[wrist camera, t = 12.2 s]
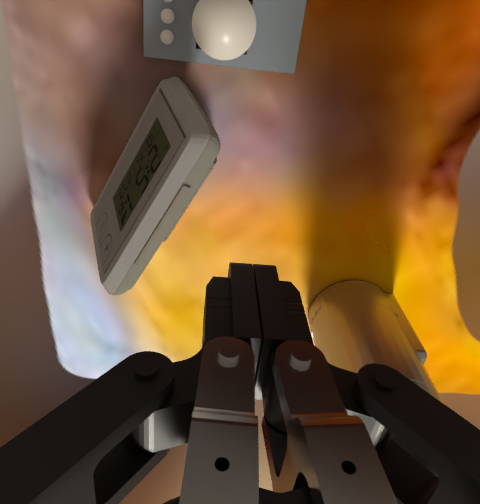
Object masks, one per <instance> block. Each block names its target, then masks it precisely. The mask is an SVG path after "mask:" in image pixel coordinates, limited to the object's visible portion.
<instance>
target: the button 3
mask: <svg viewBox="0 0 480 504" xmlns="http://www.w3.org/2000/svg"><path fill="white" fill-rule="evenodd" d="M192 31H193V35H194V38H195V40H196V42H197V44H198V46H199V47H200V48H201V49H202V51H203V52H205V53H206V54H207V55H209V56H210V57H212V58H215V59H218V60H231V59H235V58H237V57H239V56H241V55H242V54H243V53H245V52H246V51H247V49H248V48H249V47H250V45H251V44H252V42H253V40H254V37H255V33H256V16H255V12H254V9H253V7H252V5H251V3H250V2H249V1H248V0H199V1H198V3H197V5H196V7H195V9H194V12H193V16H192Z"/></svg>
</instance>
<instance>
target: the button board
mask: <svg viewBox="0 0 480 504" xmlns="http://www.w3.org/2000/svg"><path fill="white" fill-rule="evenodd" d="M198 1H199V0H143V30H144V57H151V58H159V59H168V60H177V61H186V62H194V63H203V64H212V65H221V66H229V67H238V68H247V69H256V70H264V71H273V72H282V73H291V74H295V68H296V62H297V56H298V50H299V44H300V38H301V32H302V26H303V20H304V14H305V8H306V2H307V0H251V5H252V7H253V9H254V12H255V16H256V33H255V37H254V40H253V42H252V44H251V45H250V47H249V48H248V49H247V51H246V52H245V53H243V54H242V55H241V56H239V57H237V58H235V59H231V60H218V59H215V58H212V57H210V56H209V55H207V54H206V53H205V52H203V51H202V49H201V48H200V47H197V42H196V40H195V38H194V35H193V31H192V16H193V12H194V9H195V7H196V5H197V3H198Z"/></svg>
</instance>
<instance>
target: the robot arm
mask: <svg viewBox="0 0 480 504" xmlns="http://www.w3.org/2000/svg"><path fill="white" fill-rule="evenodd" d="M304 312H305V311H304V307H303V305H302V300H301V296H300V292H299V291H298V290H297V288H296V287H295V286H294V285H293V284H292V283H291V282H288V281H279V278H278V273H277V269H276V266H274V265H259V264H253V266H252V264H244V263H230V264H229V271H228V278H226V277H213V278H212V279H211V280H210V282H209V283H208V284H207V286H206V296H205V307H204V319H203V339H202V349H201V350H200V351H199V352H198V353H197V354H196V355H194V356H193V357H191V358H189V359H186V360H183V361H178V362H173V363H172V361H171V360H170V359H169V358H168V357H166V356H165V355H163V354H160V353H157V352H151V351H145V352H139V353H135V354H133V355H131V356H129V357H127V358H126V359H124V360H123V361H122V362H120V363H119V364H117V365H116V366H114V367H113V368H112V369H110V370H109V371H107V372H106V373H105V374H103V375H102V376H100V377H99V378H98V379H96V380H95V381H94V382H92V383H91V384H89V385H88V386H86V387H85V388H83V389H82V390H81V391H79V392H78V393H76V394H75V395H74V396H72V397H71V398H69V399H68V400H67V401H65V402H64V403H62V404H61V405H60V406H58V407H57V408H55V409H54V410H52V411H51V412H50V413H48V414H47V415H46V416H44V417H43V418H41V419H40V420H39V421H37V422H36V423H34V424H33V425H31V426H30V427H29V428H27V429H26V430H24V431H23V432H21V433H20V434H19V435H17V436H16V437H14V438H13V439H12V440H10V441H9V442H7V443H6V444H5V445H3V446H2V447H0V504H118V503H120V502H121V500H122V499H123V498H124V497H125V496H126V495H127V494H128V493H129V492H130V491H131V490H132V489H133V488H134V487H135V486H136V485H137V484H138V483H139V482H140V481H141V480H142V479H143V478H144V477H145V476H146V475H147V474H148V473H149V472H150V471H151V470H152V469H153V468H154V467H155V466H156V465H157V464H158V463H159V462H160V461H161V460H162V459H163V458H164V457H165V456H166V455H167V453H168V452H169V449H170V448H171V447H175V446H178V445H181V444H185V443H188V446H187V453H186V460H185V467H184V474H183V480H182V488H181V494H180V496H179V497H176V498H174V499H172V500H169V501H167V502H165V503H163V504H480V430H479V429H478V428H476V427H475V426H474V425H472V424H471V423H469V422H468V421H467V420H465V419H464V418H462V417H461V416H460V415H458V414H457V413H455V412H454V411H453V410H451V409H450V408H448V407H447V406H446V405H444V403H443V401H442V399H441V397H440V396H439V394H438V392H437V390H436V388H435V386H434V384H433V383H432V381H431V379H430V377H429V375H428V373H427V371H426V370H425V368H424V366H423V364H424V362H425V360H426V358H427V353H426V351H425V349H424V347H423V346H422V344H421V342H420V340H419V339H418V337H417V335H416V333H415V332H414V330H413V328H412V326H411V325H410V323H409V321H408V319H407V318H406V316H405V314H404V312H403V311H402V309H401V307H400V305H399V304H398V302H397V300H396V298H395V297H394V295H393V294H391V293H384V292H383V291H382V290H381V289H380V288H378V287H377V286H376V285H374V284H372V283H369V282H366V281H360V280H350V281H343V282H340V283H336V284H334V285H332V286H330V287H328V288H326V289H325V290H323V291H322V292H321V293H320V294H319V295H318V296H317V297H316V298H315V299H314V301H313V302H312V304H311V307H310V309H309V315H308V318H309V324H310V328H311V333H312V336H313V339H314V342H315V346H314V344H313V341H312V337H311V333H310V329H309V326H308V322H307V318H306V315H305V313H304ZM255 399H260V400H263V408H264V409H263V414H262V418H261V426H262V432H263V437H264V442H265V448H266V453H267V459H268V464H269V469H270V475H271V480H272V487H273V491H270V490H266V489H263V488H259V462H258V461H259V456H258V454H259V453H258V417H257V416H255Z"/></svg>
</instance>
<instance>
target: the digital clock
mask: <svg viewBox="0 0 480 504" xmlns="http://www.w3.org/2000/svg"><path fill="white" fill-rule="evenodd" d="M219 150H220V140H219V137H218V135H217V133H216V131H215V129H214V127H213V126H212V124H211V122H210V121H209V119H208V118H207V116H206V115H205V113H204V112H203V110H202V109H201V107H200V105H199V104H198V102H197V101H196V99H195V98H194V96H193V95H192V93H191V92H190V90H189V88H188V87H187V85H186V84H185V83H184V82H183V81H182V80H181V79H179V78H178V77H176V76H174V77H170V78H167V79H164V80H162V81H161V82H160V83H159V85H158V86H157V88H156V90H155V92H154V94H153V95H152V97H151V99H150V101H149V103H148V105H147V107H146V108H145V110H144V112H143V114H142V116H141V118H140V120H139V122H138V124H137V125H136V127H135V129H134V131H133V133H132V135H131V137H130V139H129V141H128V142H127V144H126V146H125V148H124V150H123V152H122V154H121V156H120V158H119V159H118V161H117V163H116V165H115V167H114V169H113V171H112V173H111V175H110V176H109V178H108V180H107V182H106V184H105V186H104V188H103V190H102V192H101V193H100V195H99V197H98V199H97V201H96V203H95V205H94V207H93V209H92V212H91V226H92V232H93V238H94V245H95V251H96V257H97V264H98V270H99V276H100V280H101V283H102V285H103V286H104V287H105V289H106V290H107V292H108V293H109V294H112V295H119V294H122V293H124V292H126V291H128V290H130V289H131V288H132V287H133V286H134V284H135V283H136V281H137V280H138V278H139V277H140V275H141V274H142V272H143V271H144V269H145V268H146V266H147V265H148V263H149V262H150V260H151V259H152V257H153V255H154V254H155V252H156V251H157V249H158V248H159V246H160V245H161V243H162V242H164V241H166V240H167V238H168V237H169V235H170V234H171V232H172V230H173V229H174V227H175V226H176V224H177V223H178V221H179V220H180V218H181V217H182V215H183V213H184V212H185V210H186V209H187V207H188V206H189V204H190V203H191V201H192V200H193V198H194V196H195V195H196V193H197V192H198V190H199V189H200V187H201V186H202V184H203V183H204V181H205V179H206V178H207V176H208V175H209V173H210V172H211V170H212V169H213V167H214V166H215V164H216V161H217V155H218V153H219Z"/></svg>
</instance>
